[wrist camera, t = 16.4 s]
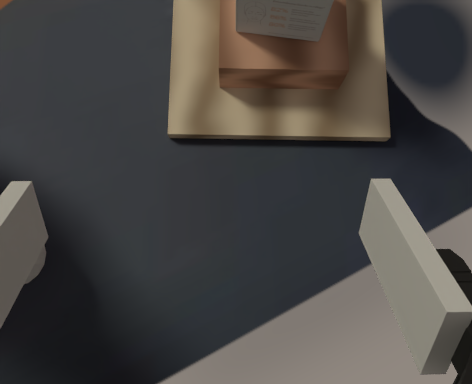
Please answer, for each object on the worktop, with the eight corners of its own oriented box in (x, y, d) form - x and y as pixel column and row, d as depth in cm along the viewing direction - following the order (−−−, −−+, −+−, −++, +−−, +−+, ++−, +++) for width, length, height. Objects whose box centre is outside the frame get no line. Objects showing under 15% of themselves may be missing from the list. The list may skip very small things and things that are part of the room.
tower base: (169, 137, 43) (161, 118, 38) (177, -51, 47) (171, -91, 42) (386, 141, 43) (407, 122, 38) (374, -46, 47) (391, -86, 42)
